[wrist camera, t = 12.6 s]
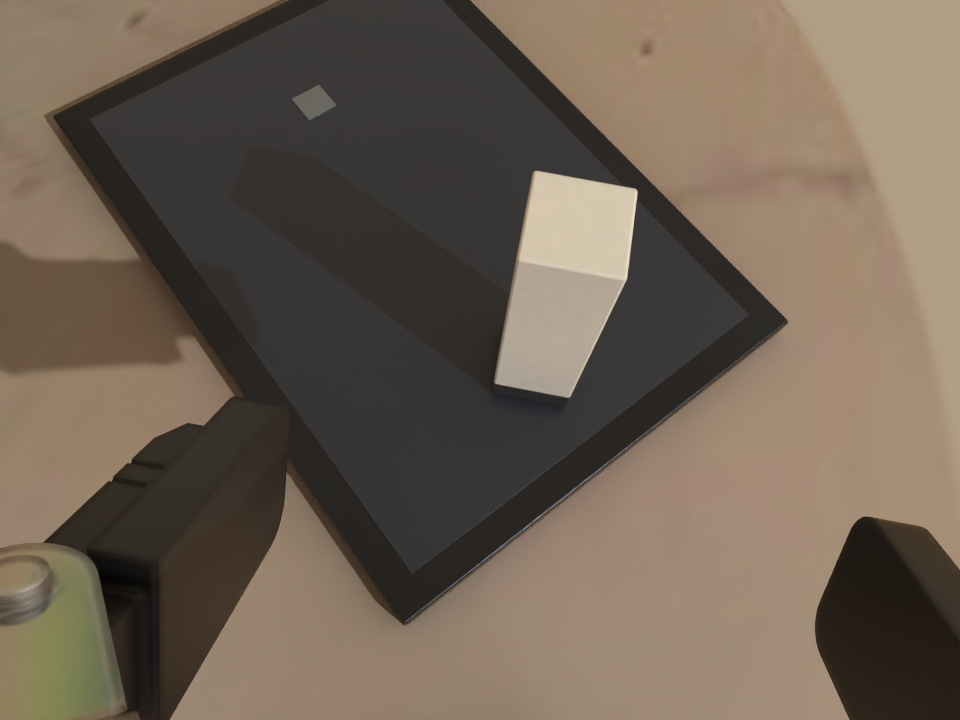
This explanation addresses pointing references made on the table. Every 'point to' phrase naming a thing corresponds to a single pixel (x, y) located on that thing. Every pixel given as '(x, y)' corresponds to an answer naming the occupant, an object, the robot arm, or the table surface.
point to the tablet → (402, 267)
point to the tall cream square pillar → (563, 284)
